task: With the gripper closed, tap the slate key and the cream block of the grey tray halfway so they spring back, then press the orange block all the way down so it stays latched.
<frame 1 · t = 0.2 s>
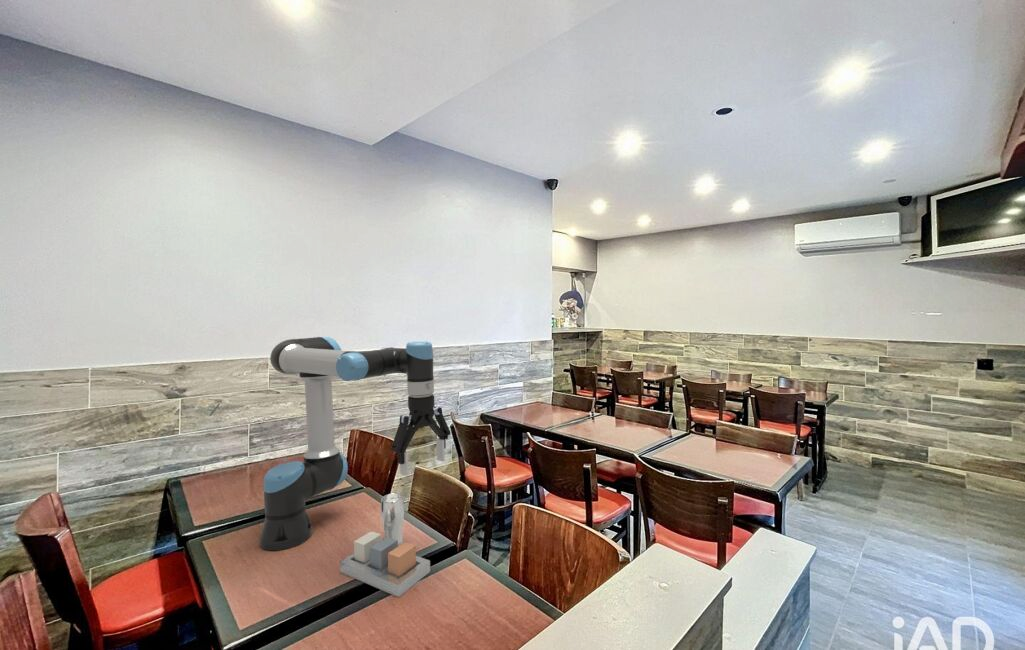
hand: (423, 467, 124), 27 cm above the table, fingers open, 13 cm apart
slate key: (384, 552, 117), point 6 cm above the table, slide at 0.1 cm
orange block: (402, 558, 114), point 7 cm above the table, slide at 0.0 cm
beer glass: (393, 545, 133), on the table
cream block: (368, 546, 121), point 6 cm above the table, slide at 0.1 cm
grey tray: (385, 575, 118), on the table
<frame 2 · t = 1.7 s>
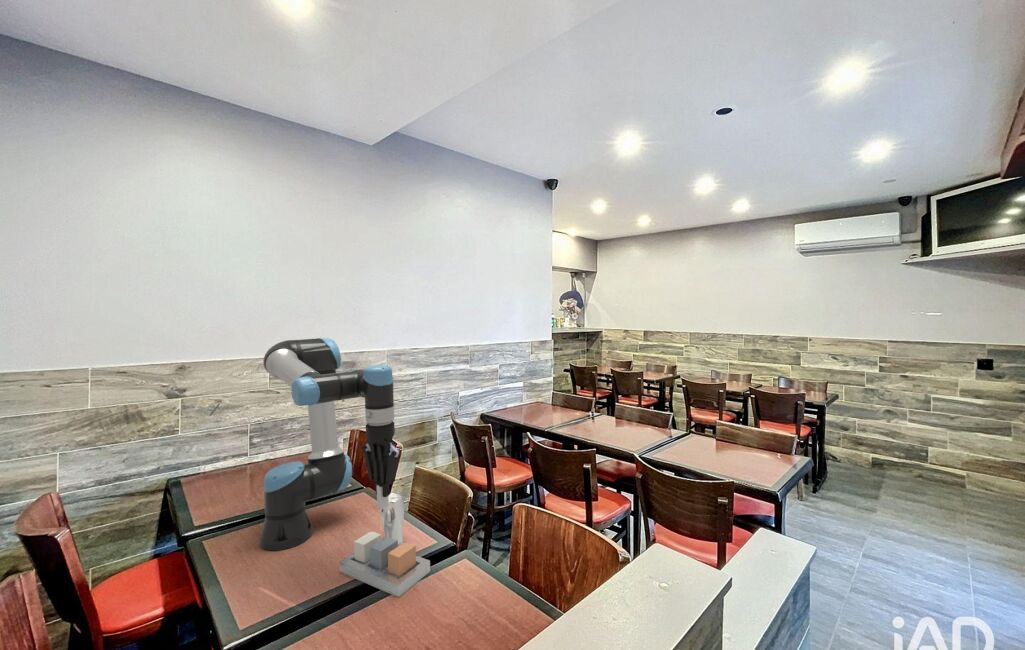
hand: (383, 507, 117), 19 cm above the table, fingers closed
nothing on the table moved.
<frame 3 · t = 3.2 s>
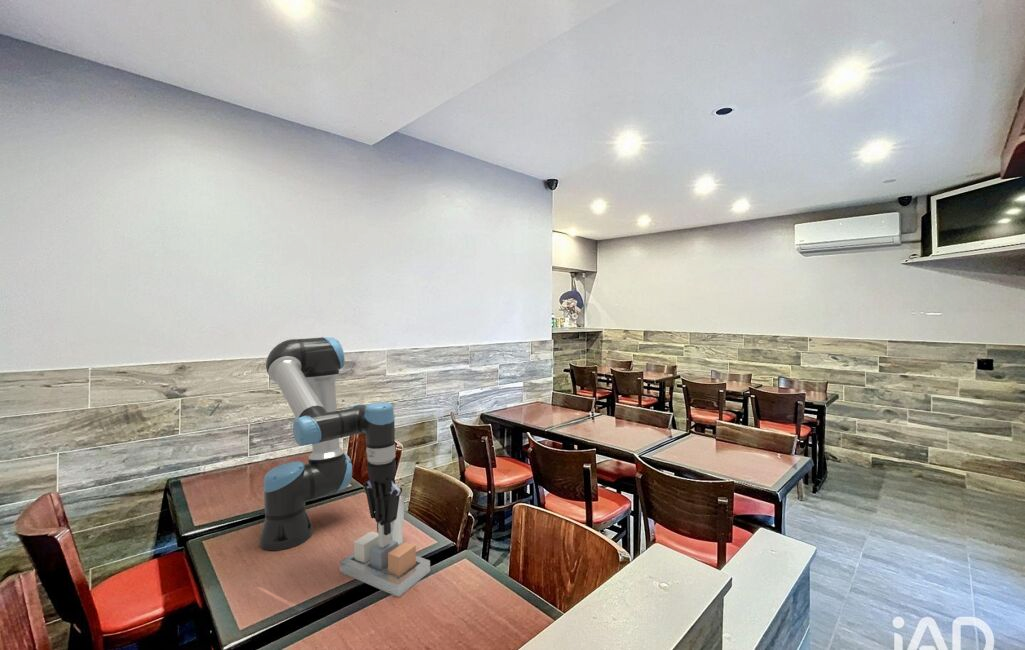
hand: (384, 544, 117), 9 cm above the table, fingers closed
slate key: (384, 554, 117), point 6 cm above the table, slide at 0.7 cm, touching gripper
everything else where it was.
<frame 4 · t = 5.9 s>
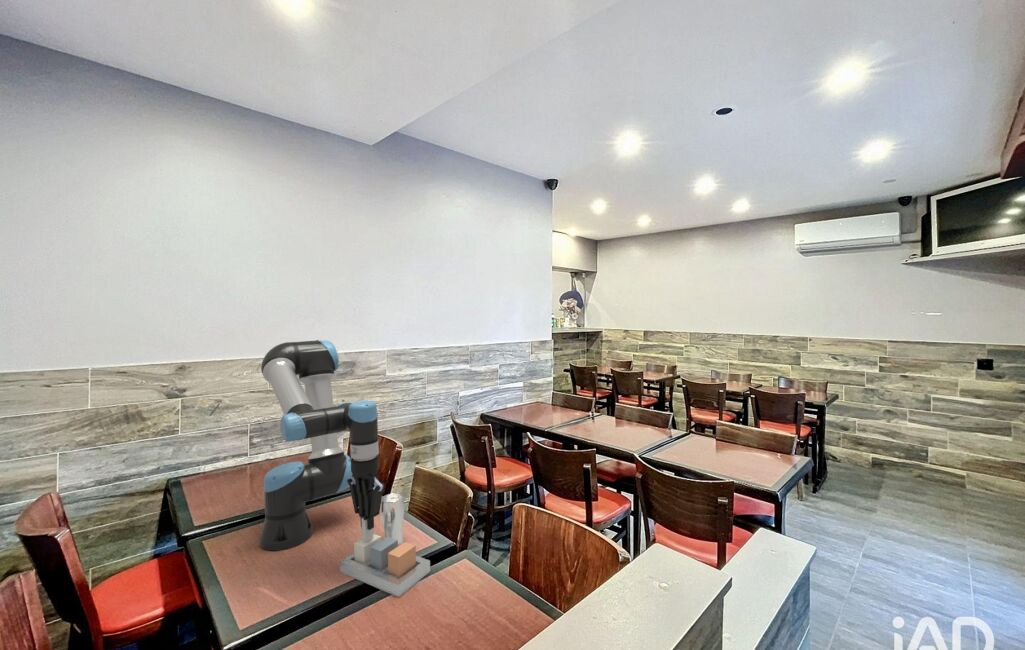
hand: (367, 539, 121), 9 cm above the table, fingers closed
slate key: (384, 552, 117), point 6 cm above the table, slide at 0.1 cm
cream block: (368, 548, 121), point 6 cm above the table, slide at 0.7 cm, touching gripper
everything else where it was.
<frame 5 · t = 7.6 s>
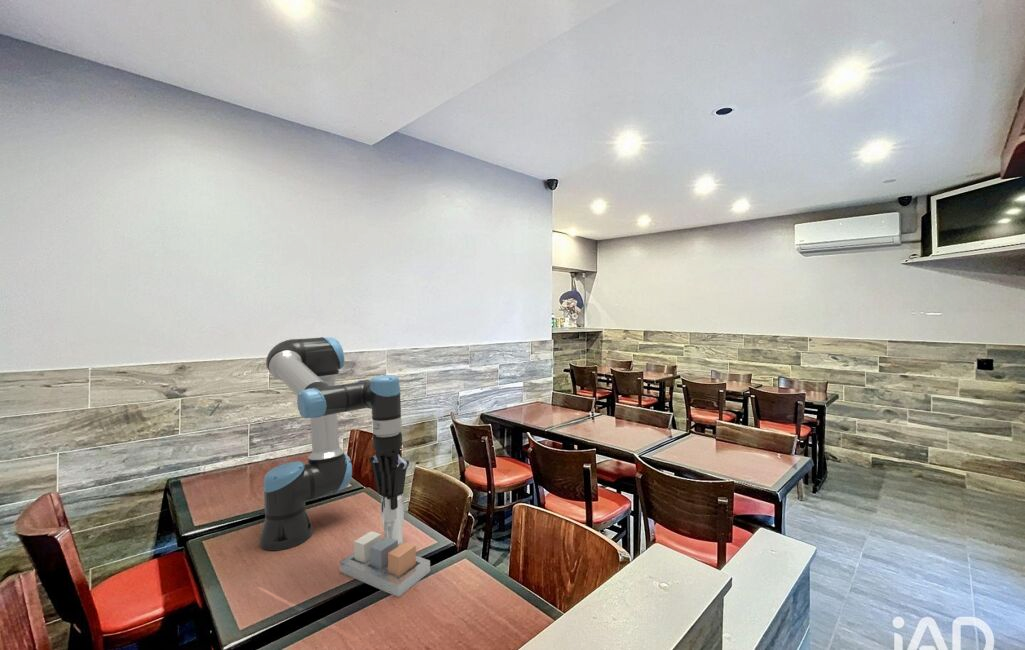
hand: (391, 520, 115), 16 cm above the table, fingers closed
cream block: (368, 546, 121), point 6 cm above the table, slide at 0.1 cm
everything else where it was.
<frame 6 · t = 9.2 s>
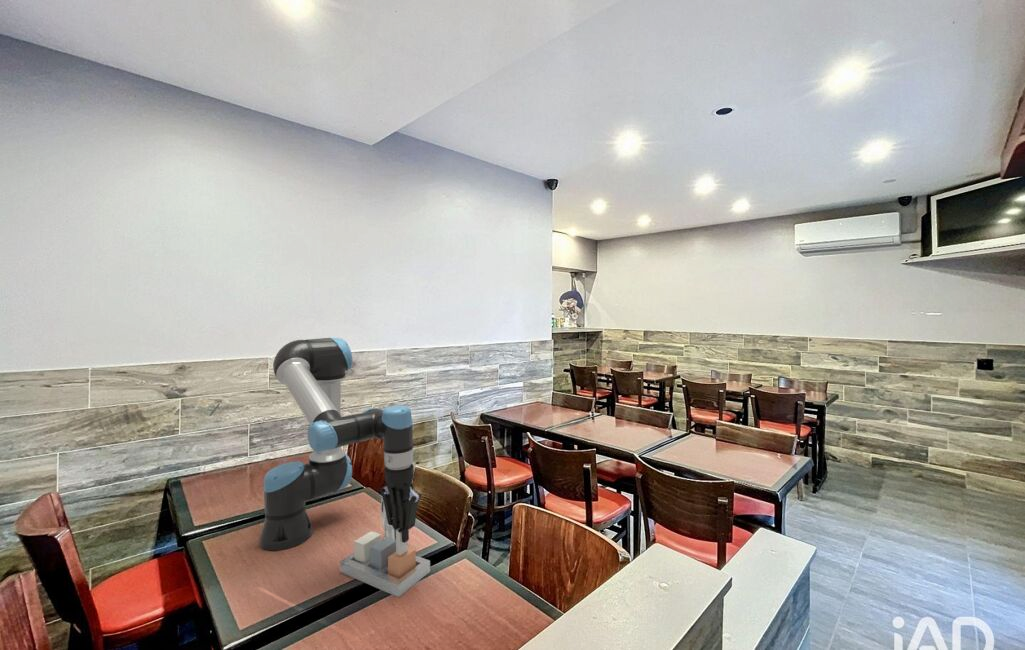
hand: (402, 552, 114), 8 cm above the table, fingers closed
orange block: (402, 562, 114), point 5 cm above the table, slide at 1.0 cm, touching gripper
everything else where it was.
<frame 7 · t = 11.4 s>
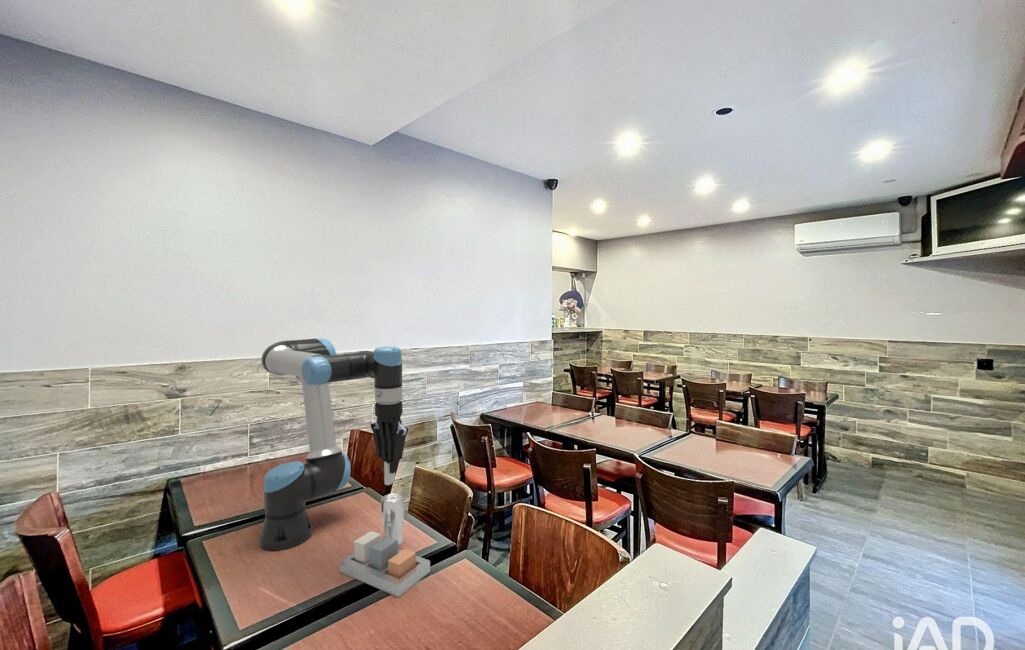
hand: (390, 483, 122), 24 cm above the table, fingers closed
orange block: (402, 565, 114), point 5 cm above the table, slide at 2.0 cm
everything else where it was.
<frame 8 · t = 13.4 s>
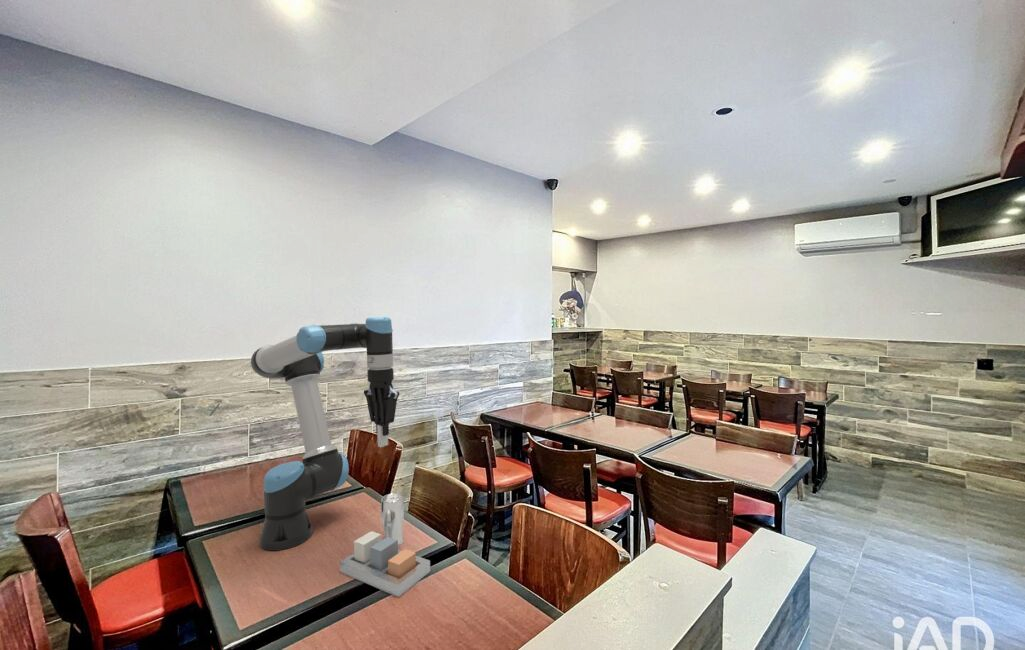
hand: (383, 445, 129), 32 cm above the table, fingers closed
nothing on the table moved.
at the end: orange block slide at 2.0 cm; slate key slide at 0.1 cm; cream block slide at 0.1 cm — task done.
